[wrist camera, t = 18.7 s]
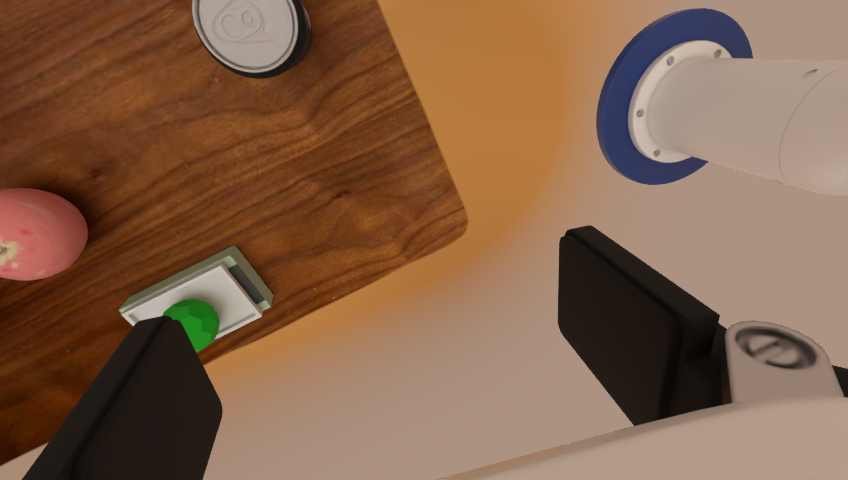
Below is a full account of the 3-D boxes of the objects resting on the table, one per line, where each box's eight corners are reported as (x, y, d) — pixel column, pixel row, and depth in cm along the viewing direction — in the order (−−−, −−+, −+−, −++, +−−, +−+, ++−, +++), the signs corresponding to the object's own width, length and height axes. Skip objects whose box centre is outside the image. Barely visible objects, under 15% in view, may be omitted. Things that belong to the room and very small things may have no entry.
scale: (235, 244, 41) (227, 260, 38) (273, 294, 45) (269, 313, 42) (128, 296, 41) (112, 317, 38) (175, 343, 45) (163, 366, 41)
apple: (100, 260, 39) (51, 307, 32) (5, 241, 37) (-72, 288, 30) (109, 190, 37) (57, 224, 30) (7, 165, 34) (-76, 195, 27)
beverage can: (325, 53, 36) (324, 55, 25) (256, 82, 36) (226, 97, 25) (288, -31, 33) (269, -68, 22) (212, 0, 33) (157, -22, 22)
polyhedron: (233, 321, 42) (223, 351, 37) (187, 339, 41) (171, 372, 37) (206, 282, 39) (192, 310, 35) (157, 301, 39) (137, 332, 35)
